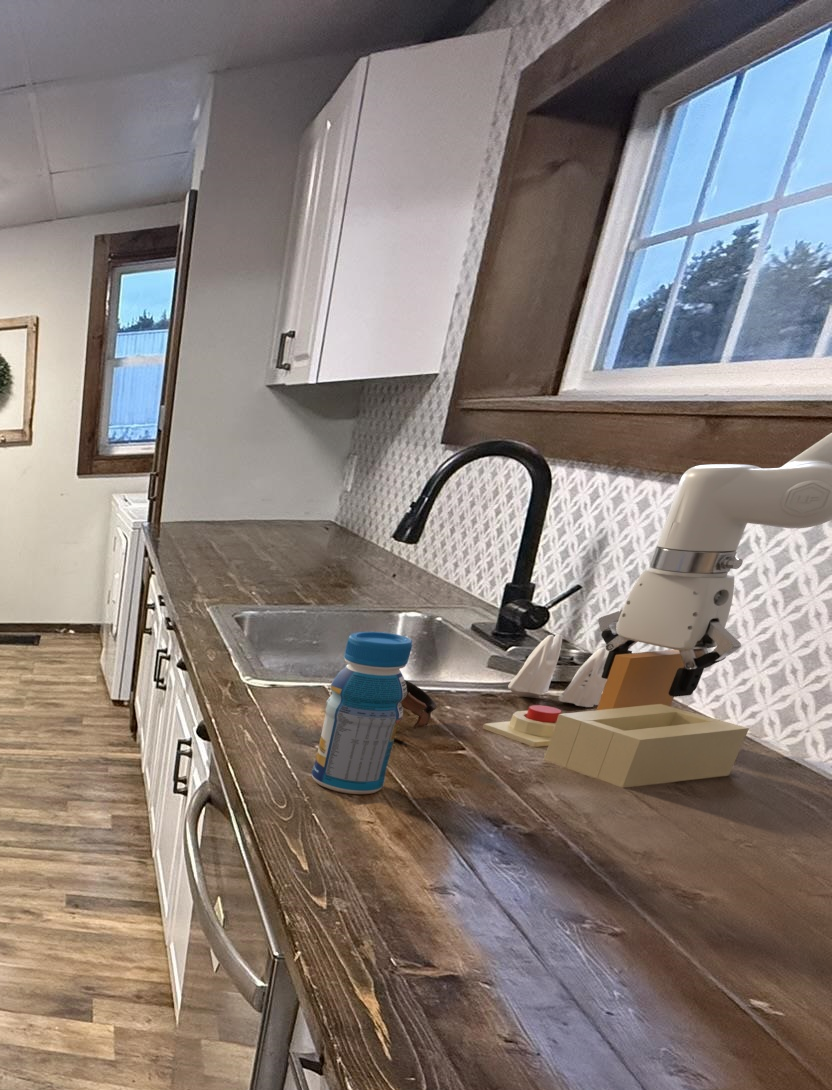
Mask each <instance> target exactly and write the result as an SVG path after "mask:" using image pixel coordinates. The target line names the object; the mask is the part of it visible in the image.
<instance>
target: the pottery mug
mask: <svg viewBox="0 0 832 1090" xmlns="http://www.w3.org/2000/svg"><path fill="white" fill-rule="evenodd" d="M405 682H406V686H407V696H406V697H405V699H403V700H402V702H401V705H402V707H403V709H406V710H408V711H410V712H411V713H412V714H414V715H415V716H417V717H418V718H417V721H416V722H415V724H414V725H413V726H412V728H415V727H425V726H428V725H429V723H430V720H431V717H432V712H433V711H435V710H437V707H438V706H437V704H436V703H435V701H434V700H433V698H432V697H431V696H429V694H427V692H425V691H424V690H423V689H421V688H420V687H418V686H417V685H416V684H414V683H412V682H411V681H408V680H407V679H405Z"/></svg>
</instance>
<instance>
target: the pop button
mask: <svg viewBox="0 0 832 1090" xmlns="http://www.w3.org/2000/svg"><path fill="white" fill-rule="evenodd" d="M527 711H528V712H527V715H526V718H528V719H531V720H534V721H540V722H548V723H556V722H557V719H558V716H559V714H562V712H563V711H562V709H559V708H557V707H554V706H549V705H539V704H534V705H529V706H528V709H527Z"/></svg>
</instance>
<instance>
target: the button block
mask: <svg viewBox="0 0 832 1090" xmlns="http://www.w3.org/2000/svg"><path fill="white" fill-rule="evenodd" d="M527 712H528V710H517V711H515V712H513V713H512V715H511V719H510V720H508V721H499V722H498V721H497V722H487V723H483V725H482V729H483V730H486V731H488V732H491V733H494V734H497V735H500V736H503V737H505V738H508V739H510V740H513V741H516V742H518V743H521V744H524V745H527V746H530V747H533V748H539V747H548V745H549V742H550V739H551V736H552V733H553V730H554V727H555V725H556V723H548V722H540V721H534V720H531V719H528V718H526V715H527Z"/></svg>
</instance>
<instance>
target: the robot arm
mask: <svg viewBox="0 0 832 1090" xmlns="http://www.w3.org/2000/svg"><path fill="white" fill-rule="evenodd" d="M830 521H832V432H830V433H829V434H827V435H825V437H823V438H821V439H820V440H819V441H816V442H815V443H814V444H813V445H810V447H808V448H807V449H805V450H803V452H801V453H800V454H797V455H796V456H795V457H793V458H792V459H790V460H789V461H787V462H786V463H784V464H783V465H782V466H780V467H769V468H761V467H760V466H757V465H752V464H741V463H738V464H737V463H732V464H731V463H722V464H721V463H719V464H718V463H717V464H715V463H713V464H699V465H696V466H692V467H690V468H688V469H687V470H686V471H684V473H683V474H682V476H681V477H680V480H679V482H678V484H677V488H676V490H675V493H674V496H673V498H672V502H671V505H670V508H669V511H668V513H667V516H666V519H665V522H664V525H663V528H662V531H661V533H660V535H659V540H658V541H657V545H656V546H655V547H656V548H655V550H654V553H653V556H652V559H651V562H650V565H649V567H647V568H644V569H643V570H642V572H641V573H640V575H639V577H638V578H637V580H636V582H635V583H634V585H633V587H632V589H631V590H630V592H629V594H628V596H627V598H626V600H625V603H624V605H623V607H622V609H620V610H618V611H615V612H611V613H609V614H606V615H604V616H601V617H599V618H598V620H597V622H598V625H599V628H600V631H601V634H600V635H601V638H602V640H603V642H604V643H605V647H604V648H605V649H606V650H607V651H609V653H608V656H607V659H606V662H605V665H604V668H603V673H602V678H604V679H608V676H609V673H610V670H611V667H612V664H613V662H614V659H615V656H616V655H619V654H630V653H633V650H629V649H630V648H632V647H633V646H634V645H635V644H636V643H642V644H647V645H652V646H656V647H661V648H667V649H669V650H674V649H675V650H679V652H680V655H681V658H682V660H683V663H684V668H679V669H678V670H677V672H676V675H675V677H674V680H673V682H672V685H671V688H670V690H669V693H668V694H669V695H670V696H673V697H674V698H678V697H686V696H687V697H688V696H691V695H693V693H694V692H695V691H696V689H697V688H698V685H699V683H700V680H701V678H702V676H703V672H704V671H705V669H709V668H711V667H712V666H713V665H716V664H717V663H719V662H722V661H724V660H725V659H726V658H727V657H728V656H730V655H732V654H733V653H735V652H736V651H737V650H738V649H740V648H741V646H742V643H741V642H740V641H739V640H738V639H737V638H736V637H735V636H734V635H733V634H732V633H731V632H729V631H728V630H727V628H726V625H727V623H728V620H729V619H728V618H729V616H730V612H731V608H732V603H733V598H734V593H735V591H734V590H735V575H730V574H729V572H730V571H731V570H738V569H740V568H741V567H742V565H743V562H744V561H743V559H742V558H737V557H736V555H737V553H738V552H737V550H738V547H739V545H740V543H741V539H742V537H743V534H744V532H745V529H746V526H747V524H752V525H761V526H768V527H775V528H781V529H807V528H813V527H817V526H819V525H823V524H825V523H828V522H830ZM712 648H713V650H712V651H710V652H709V650H708V649H712Z"/></svg>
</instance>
